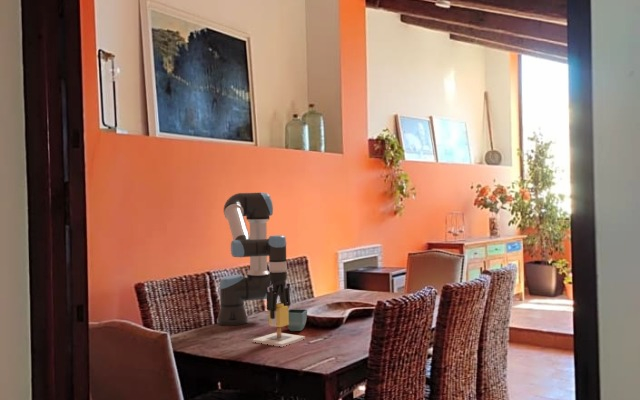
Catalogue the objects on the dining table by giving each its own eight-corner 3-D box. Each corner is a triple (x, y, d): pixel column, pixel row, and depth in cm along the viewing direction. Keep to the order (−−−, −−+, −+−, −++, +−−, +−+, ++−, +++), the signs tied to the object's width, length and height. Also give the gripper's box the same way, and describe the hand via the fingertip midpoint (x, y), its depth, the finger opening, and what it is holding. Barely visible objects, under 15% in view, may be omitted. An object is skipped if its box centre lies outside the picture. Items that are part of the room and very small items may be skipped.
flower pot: (284, 331, 270) (284, 312, 270) (290, 327, 278) (289, 308, 278) (303, 332, 268) (302, 313, 268) (307, 328, 276) (307, 309, 276)
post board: (276, 334, 264) (276, 322, 264) (305, 339, 255) (304, 326, 255) (253, 342, 251) (252, 328, 251) (282, 347, 242) (281, 333, 242)
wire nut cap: (278, 323, 257) (277, 302, 257) (288, 324, 254) (288, 303, 254) (269, 325, 252) (268, 304, 252) (280, 327, 249) (279, 305, 249)
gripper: (284, 268, 263) (285, 319, 263) (256, 273, 247) (257, 327, 247) (298, 269, 259) (299, 321, 259) (270, 274, 243) (271, 329, 243)
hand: (278, 324), depth 253 cm, fingers closed on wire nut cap, 6 cm apart
